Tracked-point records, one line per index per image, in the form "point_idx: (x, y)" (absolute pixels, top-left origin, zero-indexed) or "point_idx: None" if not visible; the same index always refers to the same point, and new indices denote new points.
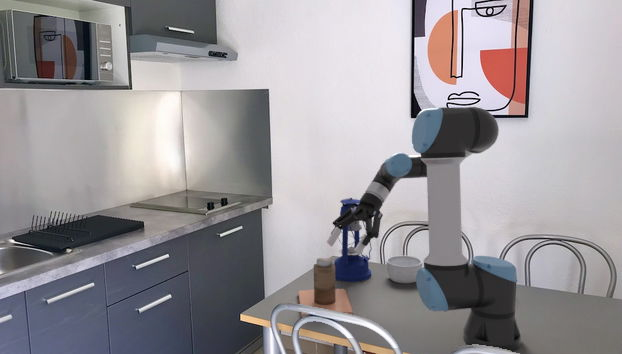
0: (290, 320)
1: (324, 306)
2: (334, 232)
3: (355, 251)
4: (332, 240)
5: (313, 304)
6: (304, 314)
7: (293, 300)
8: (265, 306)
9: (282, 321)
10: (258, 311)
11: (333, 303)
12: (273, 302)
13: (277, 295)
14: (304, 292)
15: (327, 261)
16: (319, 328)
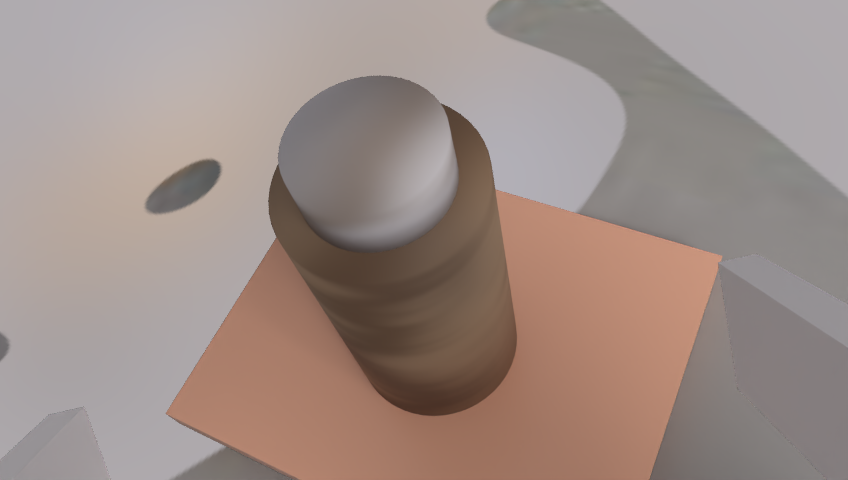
0: None
1: None
2: (835, 346)
3: (90, 440)
4: (764, 356)
5: None
6: None
7: (626, 209)
8: (607, 56)
9: None
10: (556, 16)
11: (360, 368)
12: (648, 103)
13: (763, 152)
14: (663, 278)
15: (289, 146)
16: (190, 194)
